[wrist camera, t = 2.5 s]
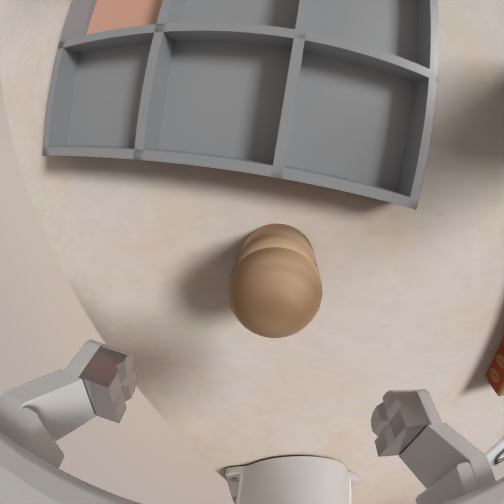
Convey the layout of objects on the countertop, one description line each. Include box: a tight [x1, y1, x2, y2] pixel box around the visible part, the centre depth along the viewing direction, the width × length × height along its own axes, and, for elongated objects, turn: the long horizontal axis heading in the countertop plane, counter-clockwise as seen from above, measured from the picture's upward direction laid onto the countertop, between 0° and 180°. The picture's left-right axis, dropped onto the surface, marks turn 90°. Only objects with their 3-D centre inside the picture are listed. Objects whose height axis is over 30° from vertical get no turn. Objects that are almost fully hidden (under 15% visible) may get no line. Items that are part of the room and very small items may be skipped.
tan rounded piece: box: [228, 224, 322, 338], centre depth 17 cm, size 5×5×7 cm
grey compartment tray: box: [42, 0, 439, 209], centre depth 14 cm, size 17×25×3 cm
